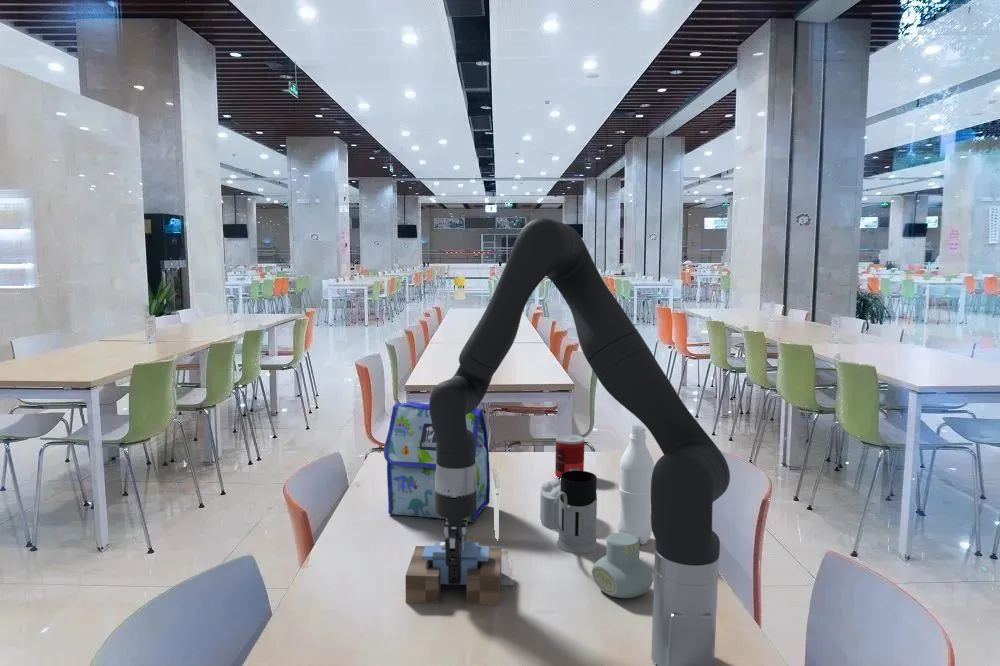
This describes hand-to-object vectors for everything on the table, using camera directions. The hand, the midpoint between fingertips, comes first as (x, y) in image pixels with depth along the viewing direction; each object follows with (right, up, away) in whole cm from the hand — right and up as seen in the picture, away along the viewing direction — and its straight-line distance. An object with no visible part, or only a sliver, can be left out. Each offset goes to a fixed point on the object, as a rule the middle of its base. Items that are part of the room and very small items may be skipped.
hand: (455, 576), depth 124 cm
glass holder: (+23, -1, +16) cm, 28 cm away
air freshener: (+30, -3, -1) cm, 31 cm away
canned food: (+27, +5, +62) cm, 68 cm away
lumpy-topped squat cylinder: (+23, +1, +33) cm, 40 cm away
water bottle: (+37, 0, +21) cm, 43 cm away
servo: (0, 0, 0) cm, 0 cm away
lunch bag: (-6, +2, +36) cm, 37 cm away
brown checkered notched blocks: (0, -2, 0) cm, 2 cm away
